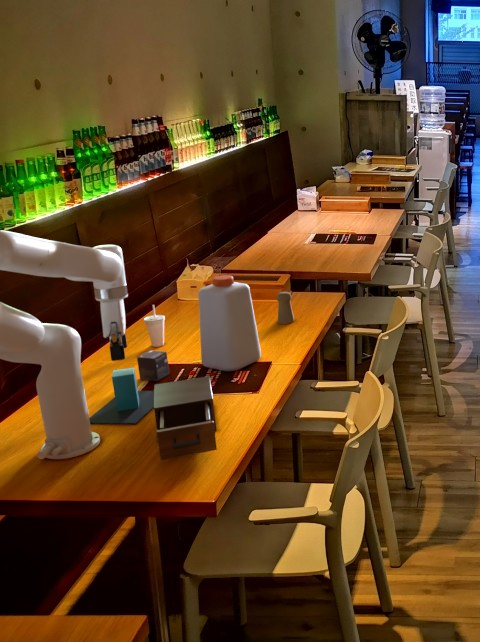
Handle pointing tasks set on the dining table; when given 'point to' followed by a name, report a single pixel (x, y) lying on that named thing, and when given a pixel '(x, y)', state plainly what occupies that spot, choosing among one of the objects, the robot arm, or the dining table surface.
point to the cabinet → (183, 396)
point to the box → (153, 365)
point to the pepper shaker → (284, 308)
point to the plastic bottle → (227, 325)
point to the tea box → (125, 389)
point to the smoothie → (155, 328)
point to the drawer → (185, 431)
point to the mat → (124, 411)
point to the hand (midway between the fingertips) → (119, 354)
